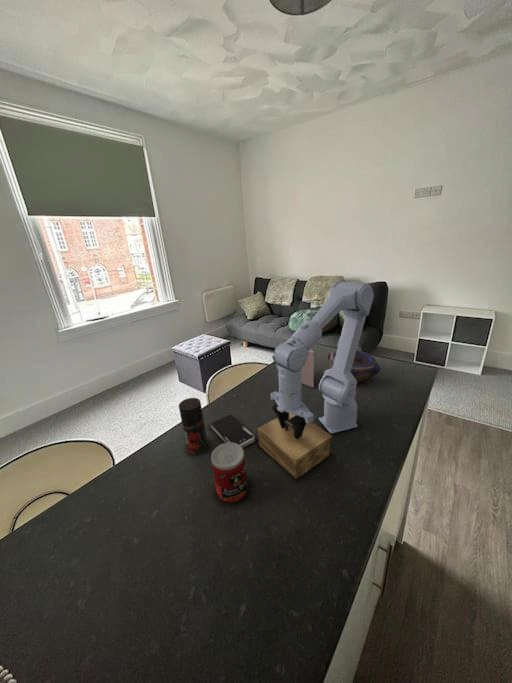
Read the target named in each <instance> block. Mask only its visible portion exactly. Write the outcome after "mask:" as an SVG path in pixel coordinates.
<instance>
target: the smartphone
mask: <svg viewBox="0 0 512 683" xmlns="http://www.w3.org/2000/svg"><path fill="white" fill-rule="evenodd" d="M210 427H211V429H212V430H213V431H214V432H215V433H216V435H217V436H219V438H220V439H221V440H222V441H223V443H228V442H232V443H236V444H238V445H240V446H241V447H242V448H243V449H244V448H245V447H247V446H249V445H250V444H253V443H254V442H255V441H256V440H255V439H256V437H255V435H254V434H253V433H252V432H250V430H248V429H247V428H246V427H245V426H244V425H243V424H241V423H240V421H239V420H237V419H236V418H235V417H234V416H233V415H232V414H228V415H226V416H223V417H221V418H219V419H217V420H215V421H212V422H211V424H210Z"/></svg>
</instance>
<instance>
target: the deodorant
mask: <svg viewBox="0 0 512 683" xmlns="http://www.w3.org/2000/svg"><path fill="white" fill-rule="evenodd" d="M178 409H179V415H180V418H181V419H180V420H181V425H182V430H183V435H184V440H185V444H186V448H187V452H188V453H190V454H192V455H197V454H200V453H203V452H204V451H206V449H207V448H208V439H207V434H206V427H205V421H204V416H203V408H202V403H201V400H200V399H199V398H197V397H188V398H186V399H183V400H181V401H180V402H179V403H178Z"/></svg>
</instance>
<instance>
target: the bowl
mask: <svg viewBox="0 0 512 683" xmlns="http://www.w3.org/2000/svg"><path fill="white" fill-rule="evenodd" d="M336 352H337V349H336V350H331V351H329V352H328V354H327V359H328V361H329V369H331V368H333V364H334V360H335V356H336ZM380 371H381V366H380V364H379V363H378V362H377V359H376V358H375V357H374V356H373V355H372V354H369V353H367V352H365V351H363V350H358V349H357V350H356V354H355V358H354V361H353V365H352V369H351V373H352V375H353V376H354V378H355V379H356V381H357V384H358V383H361V382H364V381H366V380H368V379H371V378H372V377H374V376H376V375H377V374H379V373H380Z"/></svg>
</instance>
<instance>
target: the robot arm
mask: <svg viewBox="0 0 512 683" xmlns="http://www.w3.org/2000/svg"><path fill="white" fill-rule="evenodd" d="M327 296H328V297H327V298H326V299H325V301H324V303H323V304H322V305H321V306H320V308H319V309H318V311H317V312H316V313H315V314H314V316H313V317H312V319H311V320H306V321H304V322H301V324H300V325H299V327H298V328H297V329H296V330H295V332H294V333H293V334H292V335H291V336H290V337H289V338H288V339H287V340H286V342H283V343H282V342H281V343H280V344H278V345H277V346H276V347H275V349H274V351H273V354H272V355H271V356H272V360H273V362H274V363H275V364H276V369H277V372H278V391H277V390H275V391H272V392H270V400H272V401H275V403H274V404H273V405H272V406H271V409H272V410H273V412H274V413H275V415H276V418H278V420H279V423H280V426H281V428H282V429H283V428H285V423H284V422H283V419H284V418H285V417H287V418H288V419H289V413H291V414H294V415H296V416H294V417H292V418H291V419H290V421H291V423H292V426H293V430H294V437H295V438H296V439H298V438H300V437H301V436H302V434H303V430H304V428H305V425H306V424H309V423H311V422H312V423H313V422H314V419H315V414H314V413H312V412H311V411H310V410H309V409H308V407H307V406H306V405H305V403H304V402H303V401H302V400H303V399H302V398H303V397H302V396H303V395H302V394H303V393H302V392H303V391H302V383H301V368H302V367H303V366H304V365H305V363H306V360H307V357H308V355H309V351H310V350H312V348H314V346H315V345H316V344H317V342H319V340H320V339H321V338H322V336H323V329H324V328H325V327H326V326H327V325H328V324H329V323H330V322H331V321H332V320H333V319H334V318H335V317H336V316H337V315H338V314H339V313H340V312H341V311H342V313H343V314H344V316H345V318H344V323H343V326H342V329H341V334H340V337H339V340H338V345H337V349H336V350H337V352H336V356H335V360H334V364H333V368H331V369H330V368H329V369H326V370H324V372H323V376H322V377H321V379H320V381H319V384H318V390H319V392H320V394H322V398H323V400H324V402H323V406H324V407H323V416H320V417H318V420H319V422H320V423H321V424H322V426H323V427H324V428H325V429H326V430H327V431H328V433H329V434H330V435H333V434H336V433H339V432H345V431H348V430H351V429H355V428H358V426H359V424H357V421H358V418H357V417H358V404H357V401H356V399H355V398H356V395H357V386H358V385H357V384H358V383H357V381H356V379H355V378H354V376H353V375H352V373H351V369H352V365H353V361H354V358H355V354H356V350H358V346H359V343H360V339H361V335H362V332H363V328H364V325H365V321H366V317H368V316H370V311H371V307H372V304H373V301H374V298H375V294H374V290H373V288H372V286H371V285H370V284H369V283H357V282H347V281H342V280H336V282H334V283H333V284H332V287H331V288H329V289H328V294H327Z"/></svg>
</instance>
